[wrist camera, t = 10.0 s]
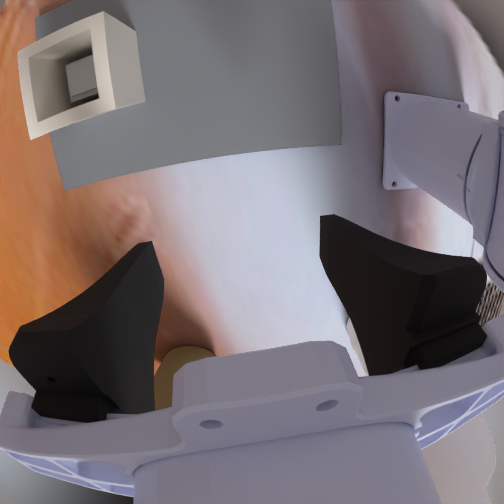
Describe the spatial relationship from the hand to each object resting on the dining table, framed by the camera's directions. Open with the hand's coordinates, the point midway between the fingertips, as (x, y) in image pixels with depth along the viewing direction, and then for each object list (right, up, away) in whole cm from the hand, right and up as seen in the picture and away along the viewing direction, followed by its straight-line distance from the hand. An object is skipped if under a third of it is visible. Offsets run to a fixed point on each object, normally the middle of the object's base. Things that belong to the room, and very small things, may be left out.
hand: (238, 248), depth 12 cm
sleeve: (-9, +11, +2) cm, 14 cm away
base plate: (-4, +12, +3) cm, 13 cm away
